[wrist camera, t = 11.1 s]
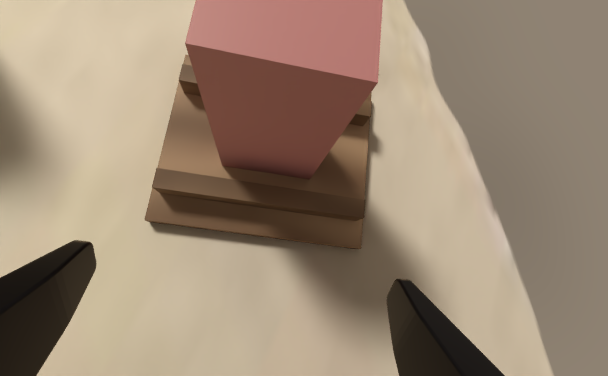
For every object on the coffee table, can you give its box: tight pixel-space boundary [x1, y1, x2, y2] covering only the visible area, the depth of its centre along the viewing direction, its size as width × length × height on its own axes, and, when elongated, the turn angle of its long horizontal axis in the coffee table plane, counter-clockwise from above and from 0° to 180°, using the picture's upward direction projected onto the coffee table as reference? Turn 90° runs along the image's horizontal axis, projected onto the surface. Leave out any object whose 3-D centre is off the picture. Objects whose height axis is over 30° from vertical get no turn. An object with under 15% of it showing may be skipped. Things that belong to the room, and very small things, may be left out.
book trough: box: [145, 55, 372, 249], centre depth 21 cm, size 12×14×2 cm
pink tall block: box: [185, 0, 383, 179], centre depth 16 cm, size 4×6×12 cm, turn 84°
